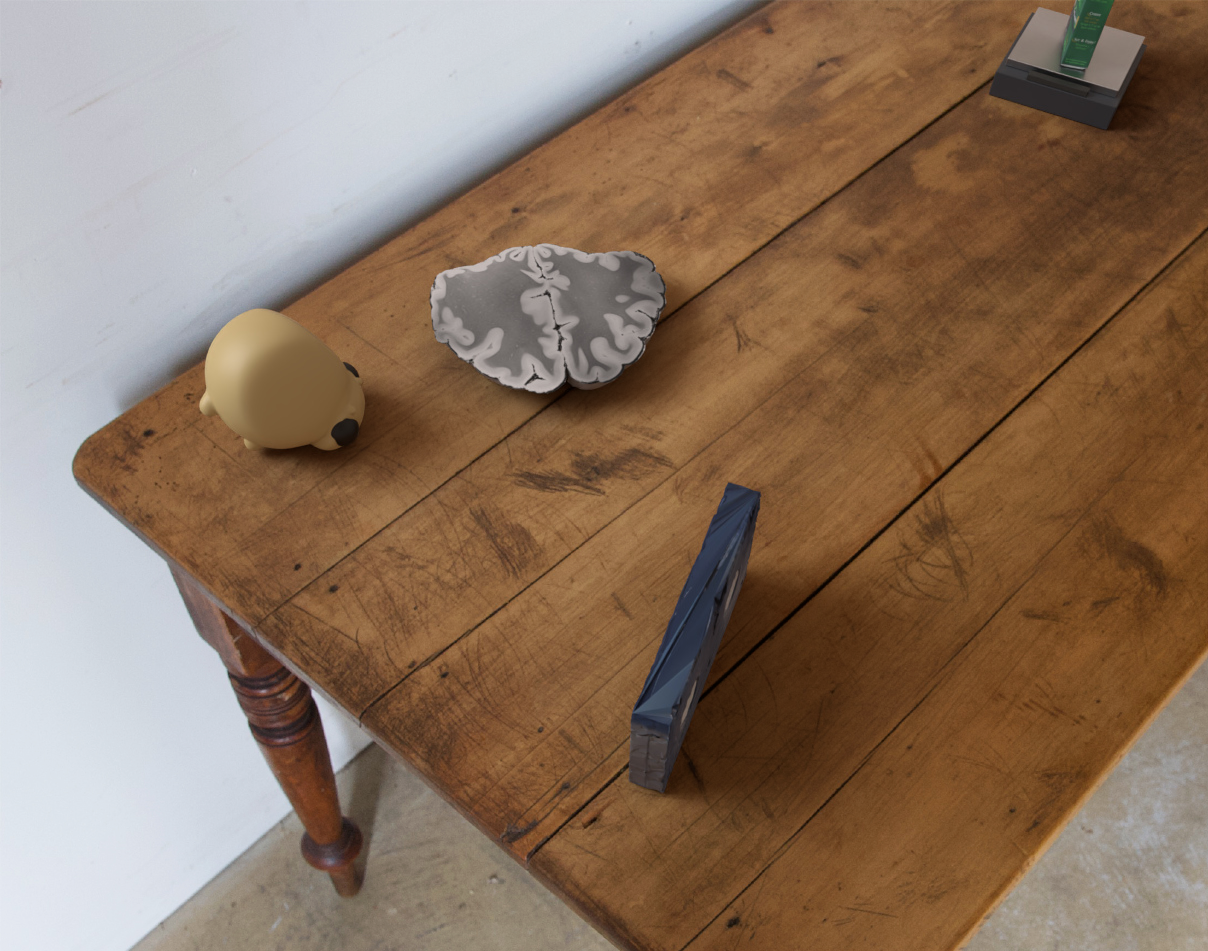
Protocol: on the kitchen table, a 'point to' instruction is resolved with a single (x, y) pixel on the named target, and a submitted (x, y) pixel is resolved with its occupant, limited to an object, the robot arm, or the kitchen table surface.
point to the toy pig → (281, 385)
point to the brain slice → (549, 315)
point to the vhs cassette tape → (692, 640)
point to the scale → (1067, 71)
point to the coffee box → (1084, 31)
